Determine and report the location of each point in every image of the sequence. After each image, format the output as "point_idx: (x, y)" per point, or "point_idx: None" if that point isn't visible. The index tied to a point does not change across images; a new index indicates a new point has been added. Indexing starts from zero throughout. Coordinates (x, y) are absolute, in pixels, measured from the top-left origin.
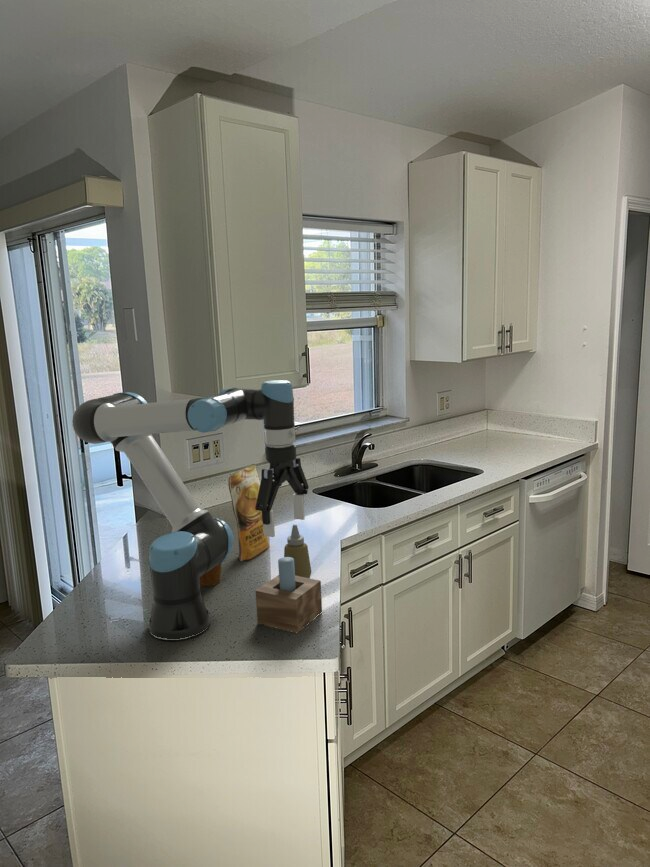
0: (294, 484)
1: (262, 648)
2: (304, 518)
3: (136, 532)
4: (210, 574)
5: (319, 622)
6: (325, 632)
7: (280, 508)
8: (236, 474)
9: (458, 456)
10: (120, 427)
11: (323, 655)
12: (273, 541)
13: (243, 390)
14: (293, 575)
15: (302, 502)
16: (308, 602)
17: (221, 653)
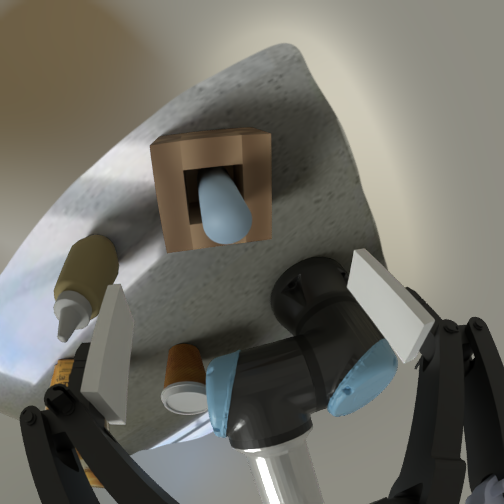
0: (156, 488)
1: (317, 151)
2: (107, 287)
3: (156, 445)
4: (194, 358)
5: (194, 117)
6: (222, 85)
7: (8, 395)
8: (93, 483)
9: None
10: None
11: (293, 52)
12: (46, 364)
13: None
14: (220, 185)
15: (101, 353)
16: (211, 134)
17: (349, 197)
